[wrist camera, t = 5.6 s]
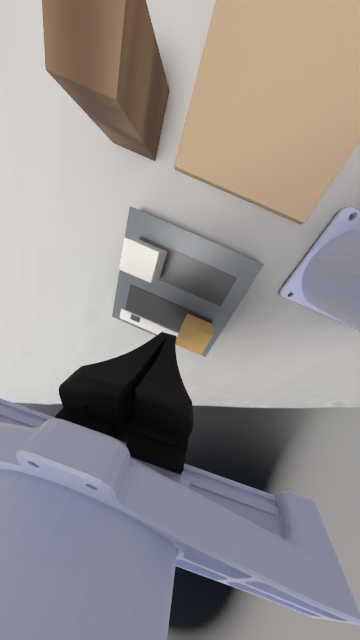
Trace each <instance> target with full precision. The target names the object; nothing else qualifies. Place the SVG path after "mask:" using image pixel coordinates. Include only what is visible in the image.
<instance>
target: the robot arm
mask: <svg viewBox="0 0 360 640" xmlns="http://www.w3.org/2000/svg"><path fill="white" fill-rule="evenodd" d="M351 214H352V215H353V217H352V219H351V220H349V216H350V215H351ZM290 292H292V294H291V295H290V296H288V293H290ZM279 294H280V296H282V297H284V298H286V299H288V300H291V301H293V302H295V303H298V304H300V305H302V306H305V307H307V308H309V309H312V310H314V311H316V312H318V313H321V314H323V315H325V316H328V317H330V318H332V319H335V320H337V321H339V322H342V323H344V324H346V325H348V326H351V327H353V328H355V329H357V330H359V331H360V210H358V209H356V208H353V207H346V208H343V209H341V210H340V211H339V212H338V213H337V214H336V216H335V217H334V218H333V220H332V221H331V223H330V224H329V225H328V227H327V228H326V229H325V231H324V232H323V233H322V235H321V236H320V237H319V239H318V240H317V241H316V243H315V244H314V245H313V247H312V248H311V249H310V251H309V252H308V253H307V255H306V256H305V257H304V259H303V260H302V261H301V263H300V264H299V265H298V267H297V268H296V269H295V271H294V272H293V273H292V275H291V276H290V277H289V279H288V280H287V281H286V283H285V284H284V286H283V287H282V288H281V290H280V291H279ZM176 338H177V337H176V336H175V335H172V334H168V333H164V332H161V333H159V334H158V335H157V336H156V337H154V338H153V339H151V340H150V341H148V342H147V343H145V344H144V345H142V346H140V347H139V348H137V349H135V350H133V351H131V352H129V353H127V354H124V355H121V356H119V357H116V358H113V359H110V360H107V361H103V362H99V363H95V364H91V365H86V366H82V367H80V368H79V369H78V370H77V371H75V372H74V373H73V374H72V375H71V376H70V377H69V378H68V379H67V380H66V381H64V382H63V383H62V384H61V385H60V387H59V395H60V398H61V401H62V404H63V407H64V408H63V409H62V410H61V411H60V412H59V413H58V414H57V415H56V417H51V416H48V415H45V414H43V413H39V412H36V411H34V410H31V409H28V408H26V407H23V406H20V405H17V404H14V403H11V402H9V401H6V400H3V399H0V640H167V633H168V625H169V615H170V607H171V599H172V590H173V581H174V572H175V566H178V567H180V568H183V569H186V570H189V571H191V572H194V573H197V574H199V575H202V576H205V577H208V578H211V579H214V580H216V581H219V582H221V583H224V584H227V585H230V586H232V587H235V588H238V589H241V590H243V591H246V592H249V593H251V594H254V595H257V596H259V597H262V598H265V599H267V600H270V601H272V602H275V603H277V604H280V605H283V606H285V607H288V608H290V609H293V610H295V611H298V612H300V613H302V614H305V615H307V616H310V617H313V618H318V619H325V620H331V621H337V622H343V623H350V624H356V625H360V613H359V610H358V608H357V605H356V603H355V600H354V598H353V595H352V593H351V590H350V588H349V586H348V583H347V581H346V578H345V576H344V573H343V571H342V568H341V566H340V563H339V561H338V558H337V556H336V553H335V551H334V548H333V546H332V544H331V541H330V539H329V536H328V534H327V531H326V529H325V526H324V524H323V521H322V519H321V516H320V514H319V511H318V509H317V506H316V504H315V502H314V501H313V500H311V499H309V498H306V497H303V496H300V495H297V494H294V493H292V492H288V491H282V492H279V493H277V494H276V496H274V495H271V494H269V493H266V492H263V491H260V490H257V489H254V488H252V487H249V486H246V485H243V484H240V483H237V482H235V481H232V480H229V479H226V478H223V477H221V476H218V475H215V474H212V473H209V472H206V471H204V470H201V469H198V468H195V467H192V466H189V465H187V464H184V462H185V455H186V450H187V446H188V439H189V437H190V434H191V432H192V430H193V425H194V417H193V408H192V401H191V399H190V397H189V395H188V393H187V391H186V389H185V387H184V384H183V382H182V379H181V376H180V373H179V369H178V365H177V360H176V351H175V343H176Z"/></svg>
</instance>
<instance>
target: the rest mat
mask: <svg viewBox="0 0 360 640" xmlns="http://www.w3.org/2000/svg"><path fill="white" fill-rule="evenodd" d="M359 140H360V0H216V3H215V7H214V11H213V15H212V19H211V23H210V27H209V31H208V35H207V39H206V43H205V47H204V51H203V54H202V58H201V62H200V66H199V70H198V74H197V78H196V82H195V86H194V90H193V94H192V98H191V102H190V106H189V110H188V114H187V118H186V122H185V125H184V129H183V133H182V137H181V141H180V145H179V149H178V153H177V157H176V161H175V165H174V167H175V169H176V170H178V171H180V172H182V173H184V174H187V175H189V176H191V177H194V178H196V179H198V180H201V181H203V182H205V183H207V184H210V185H212V186H214V187H217V188H219V189H221V190H224V191H226V192H228V193H230V194H233V195H235V196H237V197H240V198H242V199H244V200H247V201H249V202H251V203H253V204H256V205H258V206H260V207H263V208H265V209H267V210H270V211H272V212H274V213H276V214H279V215H281V216H283V217H286V218H288V219H290V220H293V221H295V222H297V223H299V224H302V223H304V222H305V221H306V219H307V218H308V216H309V215H310V213H311V212H312V210H313V209H314V207H315V206H316V204H317V203H318V201H319V200H320V198H321V197H322V195H323V194H324V192H325V191H326V190H327V188H328V187H329V185H330V184H331V182H332V181H333V179H334V178H335V176H336V175H337V173H338V172H339V170H340V169H341V167H342V166H343V164H344V163H345V161H346V160H347V158H348V157H349V155H350V154H351V152H352V151H353V149H354V148H355V146H356V145H357V143H358V142H359Z"/></svg>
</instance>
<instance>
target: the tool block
mask: <svg viewBox="0 0 360 640" xmlns="http://www.w3.org/2000/svg"><path fill="white" fill-rule="evenodd" d="M42 8H43V27H44V45H45V64H46V70H47V71H48V72H49V73H50V75H51V76H52V77H53V78H54V79H55V80H56V81H57V82H58V83H59V84H60V85H61V86H62V88H63V89H64V90H65V91H66V92H67V93H68V94H69V95H70V96H71V97H72V98H73V100H74V101H75V102H76V103H77V104H78V105H79V106H80V107H81V108H82V109H83V110H84V111H85V113H86V114H87V115H88V116H89V117H90V118H91V119H92V120H93V121H94V122H95V123H96V124H97V126H98V127H99V128H100V129H101V130H102V131H103V132H104V133H105V134H106V135H107V136H108V137H109V139H110V140H111V141H112V142H113V143H115V144H117V145H120V146H122V147H124V148H126V149H129V150H131V151H133V152H136V153H138V154H140V155H143V156H145V157H147V158H149V159H152V160H154V161H155V159H156V154H157V149H158V144H159V139H160V134H161V129H162V124H163V119H164V114H165V109H166V104H167V100H168V95H169V88H168V84H167V80H166V76H165V72H164V69H163V65H162V61H161V57H160V53H159V49H158V46H157V42H156V38H155V34H154V30H153V27H152V23H151V19H150V15H149V11H148V8H147V4H146V0H42Z"/></svg>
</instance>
